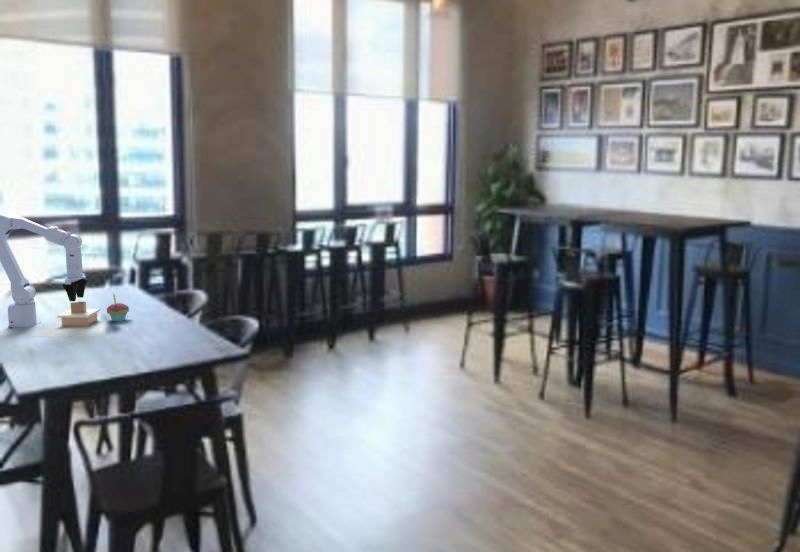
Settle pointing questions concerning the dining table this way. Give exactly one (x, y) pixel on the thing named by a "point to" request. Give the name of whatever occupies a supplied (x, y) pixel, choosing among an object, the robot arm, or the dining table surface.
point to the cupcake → (117, 311)
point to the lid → (78, 311)
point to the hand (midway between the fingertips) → (76, 299)
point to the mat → (58, 332)
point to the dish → (79, 321)
